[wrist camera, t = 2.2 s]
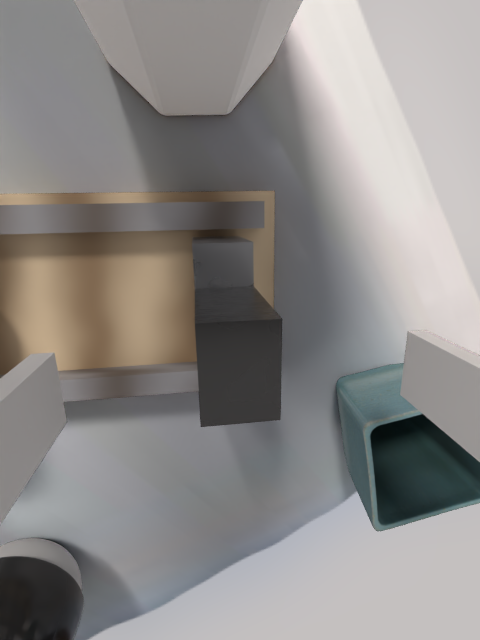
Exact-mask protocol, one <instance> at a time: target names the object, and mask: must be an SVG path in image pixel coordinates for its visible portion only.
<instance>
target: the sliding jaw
mask: <svg viewBox="0 0 480 640" xmlns="http://www.w3.org/2000/svg"><path fill="white" fill-rule="evenodd" d="M192 251H193V269H194V286H195V337H196V353H197V370H198V387H199V403H200V420H201V427H206V426H217V425H228V424H240V423H251V422H262V421H273V420H280V413H281V352H282V318H281V317H280V316H279V315H278V313H277V312H276V311H275V310H274V309H273V308H272V307H271V305H270V304H269V303H268V302H267V301H266V300H265V298H264V297H263V296H262V295H261V294H260V293H259V292H258V290H257V289H256V288H255V287H254V264H253V242H252V241H250V240H247V239H245V238H242V237H240V236H218V237H193V239H192Z"/></svg>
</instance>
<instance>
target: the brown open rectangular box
mask: <svg viewBox="0 0 480 640" xmlns="http://www.w3.org/2000/svg"><path fill="white" fill-rule="evenodd" d="M274 218H275V191H208V192H121V193H35V194H0V378H2V377H3V376H4V375H5V374H7V373H8V372H9V371H10V370H12V369H13V368H14V367H15V366H17V365H18V364H19V363H20V362H22V361H23V360H24V359H25V358H27V357H28V356H29V355H30V354H38V353H54V352H55V358H56V363H57V369H58V374H59V380H60V385H61V391H62V396H63V402H69V401H82V400H95V399H108V398H121V397H133V396H146V395H159V394H172V393H185V392H198V391H199V387H198V370H197V353H196V337H195V286H194V269H193V251H192V239H193V237H218V236H240V237H242V238H245V239H247V240H250V241H252V242H253V264H254V287H255V288H256V289H257V290H258V292H259V293H260V294H261V295H262V296H263V297H264V298H265V300H266V301H267V302H268V303H269V304H270V305H271V307H272V308H273V309H274Z"/></svg>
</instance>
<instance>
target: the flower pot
mask: <svg viewBox="0 0 480 640" xmlns="http://www.w3.org/2000/svg"><path fill="white" fill-rule="evenodd" d="M403 366H404V363H400V364H392V365H387V366H383V367H379V368H375V369H372V370H368V371H364V372H360V373H356V374H352V375H347V376H344V377H341V378H340V379H339V380H338V381H337V384H336V391H337V398H338V406H339V413H340V421H341V429H342V437H343V446H344V453H345V458H346V462H347V466H348V469H349V472H350V475H351V477H352V480H353V482H354V485H355V487H356V489H357V491H358V494H359V496H360V498H361V500H362V503H363V505H364V507H365V510H366V512H367V514H368V517H369V519H370V521H371V523H372V526H373V527H374V529H375V530H376V531H383V530H387V529H391V528H394V527H398V526H401V525H405V524H408V523H411V522H415V521H418V520H421V519H425V518H428V517H431V516H435V515H438V514H441V513H445V512H448V511H452V510H455V509H459V508H463V507H467V506H470V505H474V504H478V503H480V462H479V461H478V460H477V459H475V458H474V457H473V456H472V455H471V454H469V453H468V452H467V451H466V450H465V449H464V448H462V447H461V446H460V445H459V444H458V443H456V442H455V441H454V440H453V439H452V438H451V437H449V436H448V435H447V434H446V433H445V432H444V431H442V430H441V429H440V428H439V427H438V426H436V425H435V424H434V423H433V422H432V421H431V420H429V419H428V418H427V417H426V416H425V415H423V414H422V413H421V412H420V411H419V410H418V409H416V408H415V407H414V406H413V405H412V404H411V403H409V402H408V401H407V400H406V399H405V398H403V397H402V396H401V395H400V391H401V383H402V375H403Z"/></svg>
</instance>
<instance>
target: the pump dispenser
mask: <svg viewBox="0 0 480 640" xmlns="http://www.w3.org/2000/svg"><path fill="white" fill-rule="evenodd" d="M83 607H84V599H83V594H82V579H81V573H80V570H79V567H78V565H77V562H76V561H75V559H74V557H73V556H72V555H71V554H70V553H69V552H68V551H67V550H66V549H65V548H64V547H62V546H61V545H59V544H57V543H55V542H52V541H50V540H46V539H40V538H26V539H19V540H15V541H11V542H8V543H6V544H3V545H1V546H0V640H74V637H75V635H76V632H77V629H78V626H79V623H80V620H81V616H82V613H83Z"/></svg>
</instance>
